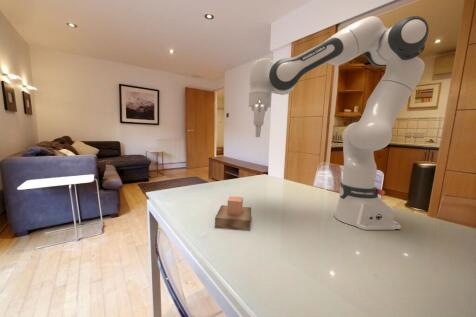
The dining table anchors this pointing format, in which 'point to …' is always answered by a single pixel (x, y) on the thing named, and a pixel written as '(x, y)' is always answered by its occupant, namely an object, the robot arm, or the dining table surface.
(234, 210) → the terracotta cube
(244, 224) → the walnut board
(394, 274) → the dining table surface
